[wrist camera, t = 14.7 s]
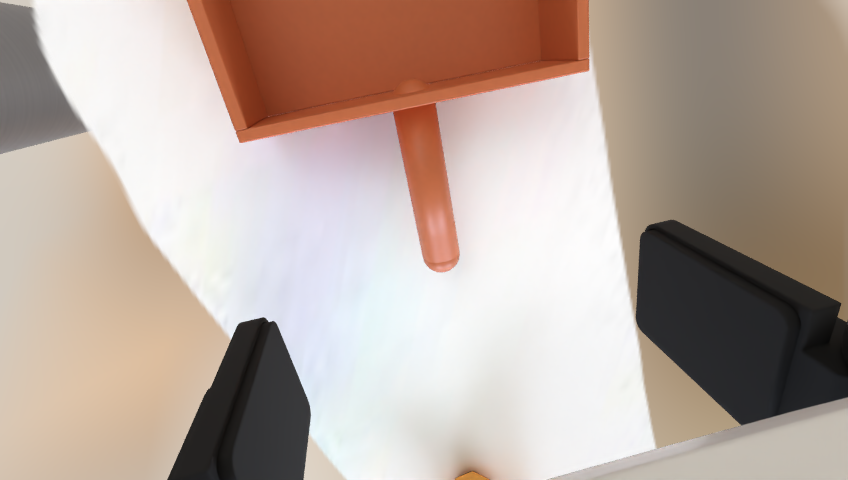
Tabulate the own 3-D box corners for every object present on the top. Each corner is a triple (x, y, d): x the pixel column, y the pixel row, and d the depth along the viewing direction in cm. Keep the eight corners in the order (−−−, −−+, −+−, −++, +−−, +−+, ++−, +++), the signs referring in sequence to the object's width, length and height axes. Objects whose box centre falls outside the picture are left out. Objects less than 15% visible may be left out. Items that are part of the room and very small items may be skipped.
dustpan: (150, -204, 16) (76, -296, 12) (531, -268, 16) (585, -374, 12) (314, 278, 24) (305, 321, 20) (555, 224, 25) (591, 255, 21)
